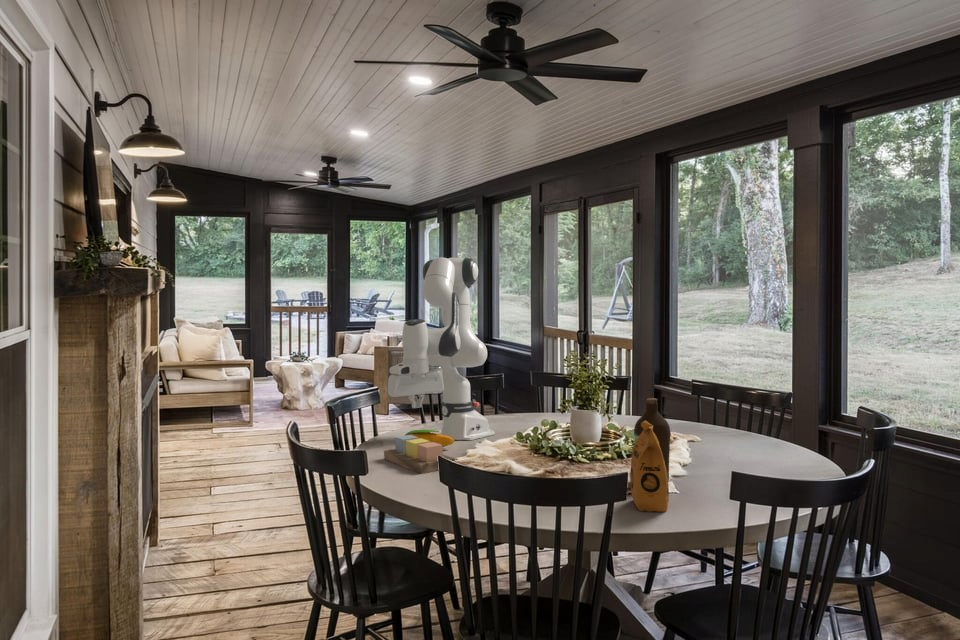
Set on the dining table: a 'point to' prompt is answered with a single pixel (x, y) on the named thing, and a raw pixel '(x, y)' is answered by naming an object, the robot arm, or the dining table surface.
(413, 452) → the pad mustard
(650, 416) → the olive oil
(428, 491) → the dining table surface
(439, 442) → the corn
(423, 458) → the pad terracotta
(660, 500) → the coffee package
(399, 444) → the pad slate
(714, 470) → the dining table surface
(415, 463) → the button board
